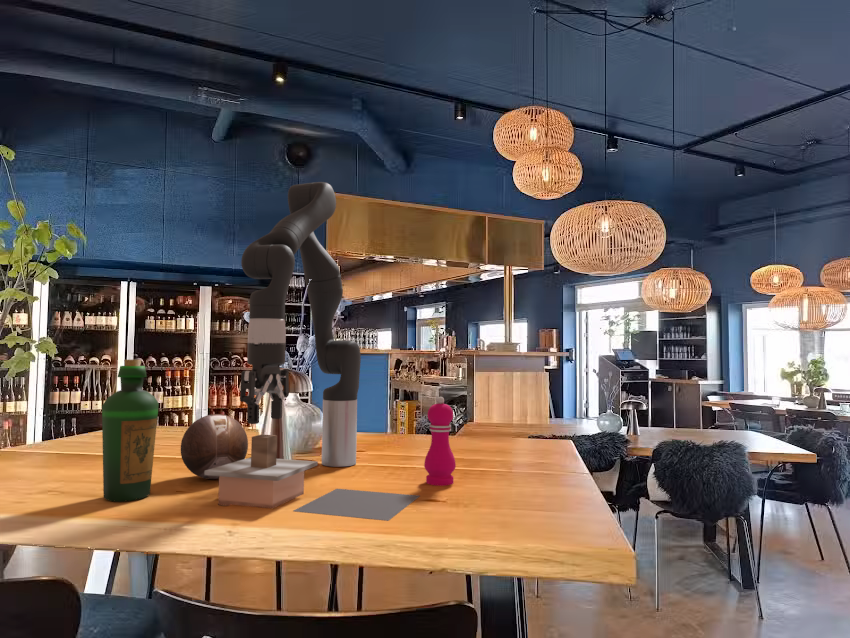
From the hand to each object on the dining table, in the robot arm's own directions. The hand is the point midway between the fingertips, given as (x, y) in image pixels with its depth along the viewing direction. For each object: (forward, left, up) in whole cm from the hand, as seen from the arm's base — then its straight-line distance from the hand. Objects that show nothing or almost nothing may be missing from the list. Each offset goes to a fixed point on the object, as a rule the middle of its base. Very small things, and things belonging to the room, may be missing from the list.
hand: (265, 421), depth 117 cm
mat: (-3, +20, -16) cm, 26 cm away
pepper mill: (-26, +30, -16) cm, 43 cm away
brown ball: (-14, -22, -16) cm, 31 cm away
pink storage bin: (0, 0, -16) cm, 16 cm away
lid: (0, 0, -10) cm, 10 cm away
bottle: (+7, -27, -16) cm, 32 cm away
